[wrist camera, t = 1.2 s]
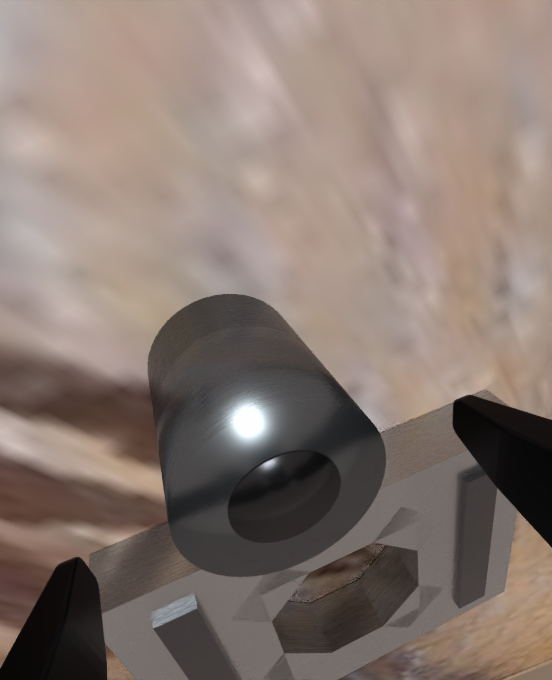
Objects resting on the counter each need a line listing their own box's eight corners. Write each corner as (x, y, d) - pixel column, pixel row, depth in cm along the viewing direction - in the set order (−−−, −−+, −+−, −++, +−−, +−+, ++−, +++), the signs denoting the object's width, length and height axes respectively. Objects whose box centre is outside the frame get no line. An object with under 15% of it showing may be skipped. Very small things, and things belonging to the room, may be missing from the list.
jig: (486, 389, 19) (537, 426, 17) (472, 553, 26) (508, 596, 24) (89, 555, 16) (85, 630, 14) (190, 694, 23) (199, 761, 20)
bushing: (279, 274, 13) (381, 368, 8) (303, 394, 16) (393, 523, 11) (123, 324, 13) (130, 464, 7) (175, 444, 15) (207, 609, 10)
